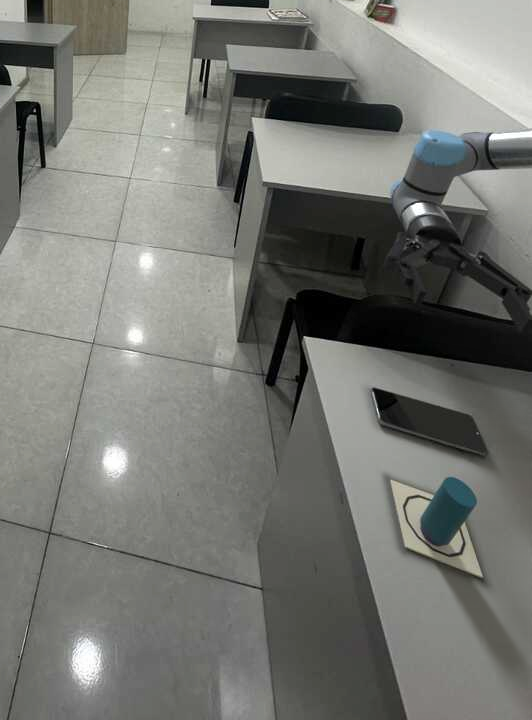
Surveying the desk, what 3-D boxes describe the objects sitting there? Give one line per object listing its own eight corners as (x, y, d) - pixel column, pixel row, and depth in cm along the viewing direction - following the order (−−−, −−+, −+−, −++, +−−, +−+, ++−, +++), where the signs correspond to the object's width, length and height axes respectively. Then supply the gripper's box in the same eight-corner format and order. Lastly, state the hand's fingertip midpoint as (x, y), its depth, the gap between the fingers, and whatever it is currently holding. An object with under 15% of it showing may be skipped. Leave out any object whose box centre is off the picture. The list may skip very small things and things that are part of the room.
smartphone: (370, 385, 87) (472, 414, 83) (368, 389, 87) (470, 418, 83) (380, 422, 81) (491, 456, 76) (378, 426, 81) (489, 460, 77)
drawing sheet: (458, 505, 71) (459, 504, 70) (482, 578, 63) (483, 577, 63) (389, 480, 73) (390, 479, 73) (404, 547, 65) (405, 546, 65)
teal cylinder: (442, 525, 68) (470, 483, 64) (451, 555, 65) (481, 512, 61) (413, 514, 69) (439, 472, 65) (420, 543, 66) (448, 500, 62)
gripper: (500, 266, 87) (563, 358, 69) (350, 230, 94) (371, 305, 76) (518, 233, 84) (589, 320, 66) (362, 198, 91) (387, 268, 73)
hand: (472, 312), depth 71 cm, fingers open, 13 cm apart
